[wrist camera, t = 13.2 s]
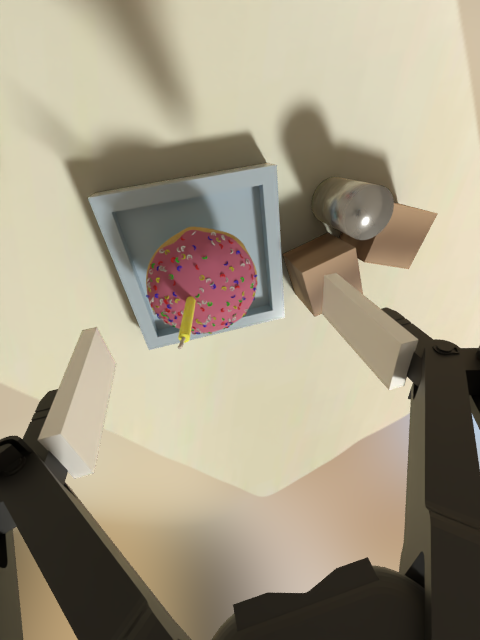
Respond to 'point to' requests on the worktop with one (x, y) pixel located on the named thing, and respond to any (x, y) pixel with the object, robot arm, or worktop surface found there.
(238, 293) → the cupcake
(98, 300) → the worktop surface
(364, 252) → the walnut block
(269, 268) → the tray
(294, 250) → the walnut block
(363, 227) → the grey cylinder
